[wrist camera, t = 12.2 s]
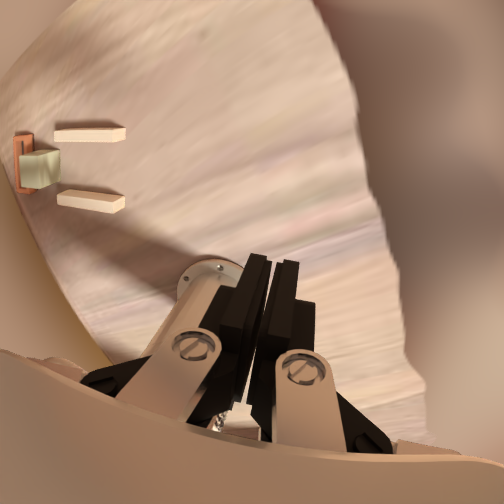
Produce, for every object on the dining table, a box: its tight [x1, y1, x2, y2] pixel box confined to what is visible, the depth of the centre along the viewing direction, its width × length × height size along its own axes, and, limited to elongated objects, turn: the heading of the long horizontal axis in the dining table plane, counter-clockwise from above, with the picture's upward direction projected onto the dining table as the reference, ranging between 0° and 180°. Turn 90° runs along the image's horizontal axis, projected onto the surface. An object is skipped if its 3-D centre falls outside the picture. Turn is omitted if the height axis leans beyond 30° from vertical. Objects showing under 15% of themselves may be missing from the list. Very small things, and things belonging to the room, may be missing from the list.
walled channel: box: [54, 128, 125, 214], centre depth 38 cm, size 11×11×3 cm
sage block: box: [19, 150, 61, 189], centre depth 39 cm, size 5×5×5 cm
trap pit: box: [13, 134, 37, 194], centre depth 41 cm, size 10×4×2 cm, turn 173°
